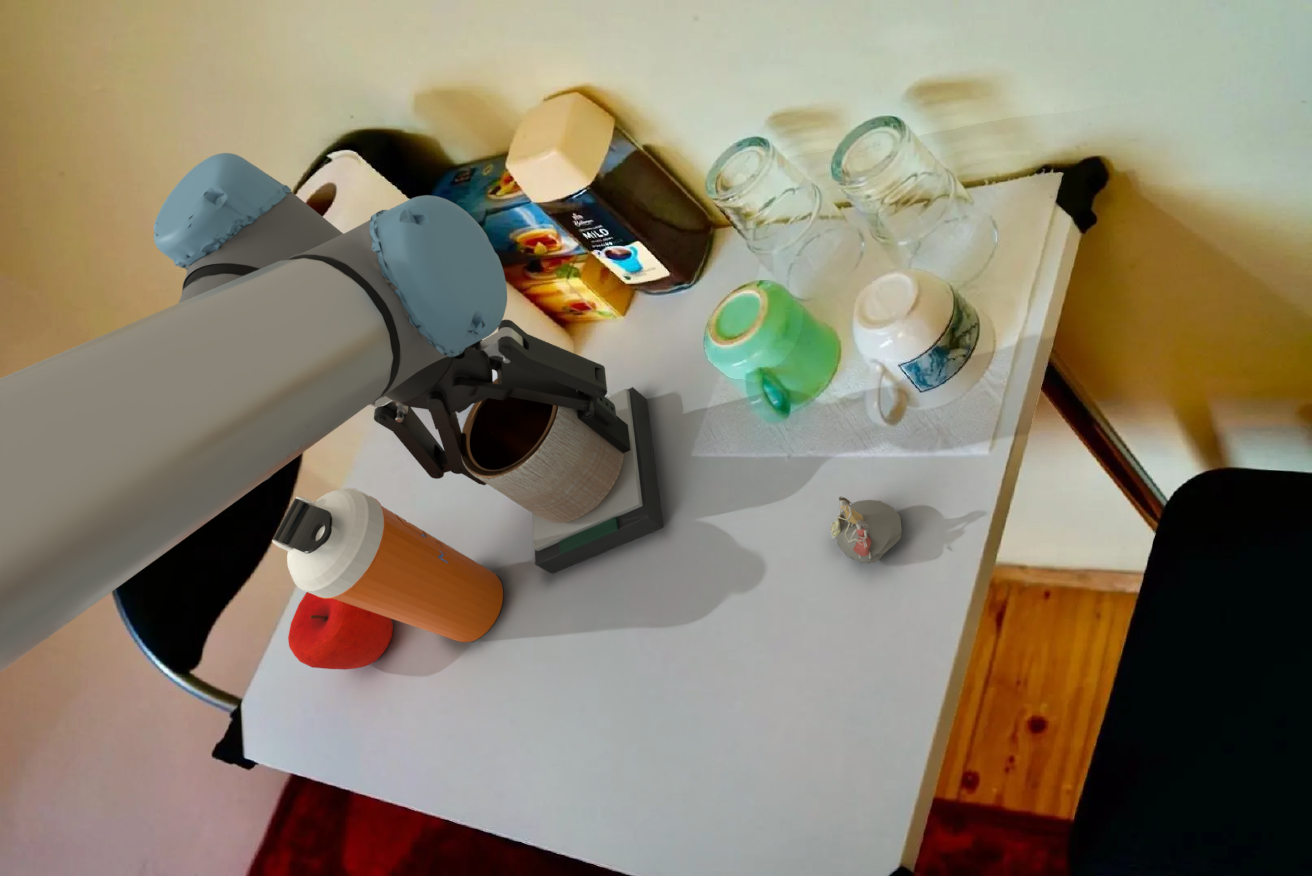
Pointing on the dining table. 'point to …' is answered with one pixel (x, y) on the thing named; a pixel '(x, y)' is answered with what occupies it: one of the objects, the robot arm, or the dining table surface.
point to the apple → (337, 634)
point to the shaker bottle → (386, 566)
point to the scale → (609, 500)
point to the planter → (539, 457)
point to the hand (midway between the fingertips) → (571, 464)
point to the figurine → (866, 529)
